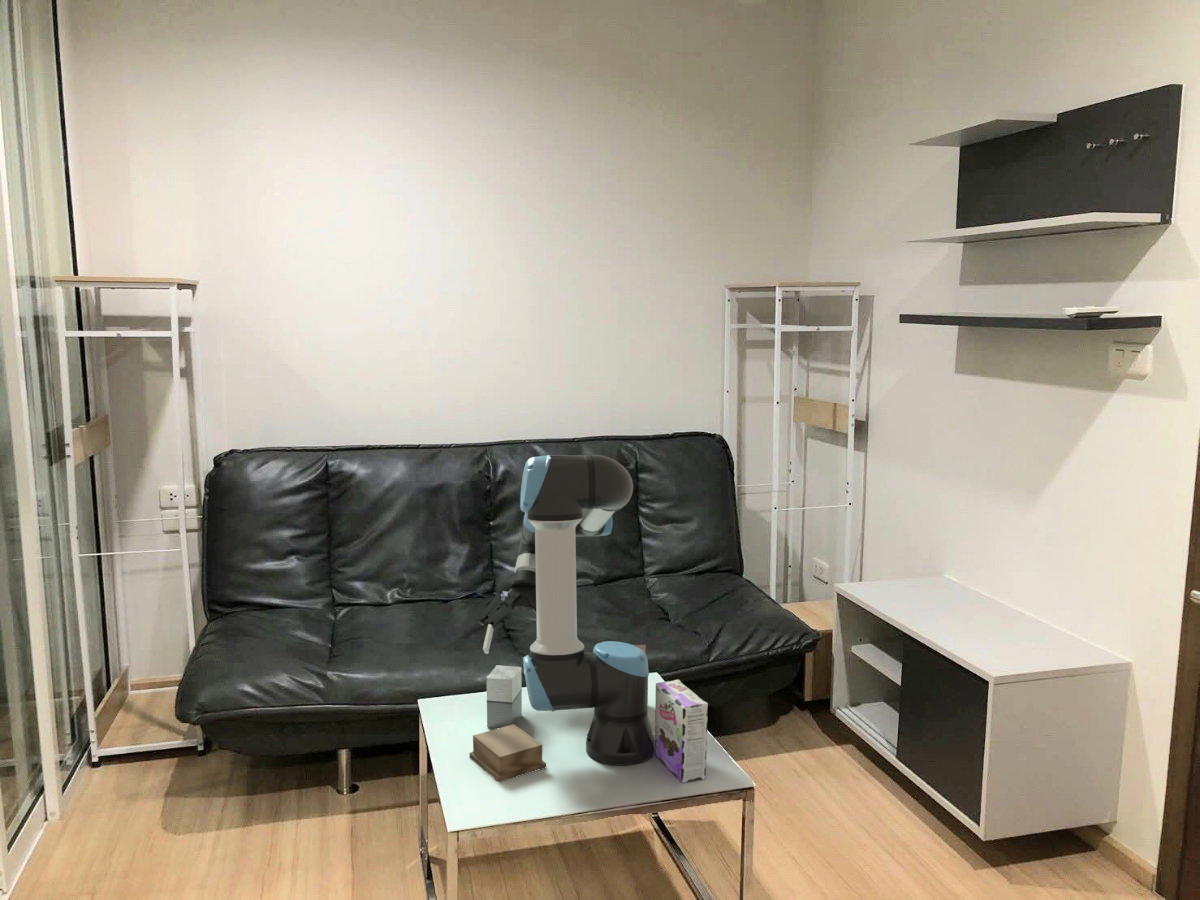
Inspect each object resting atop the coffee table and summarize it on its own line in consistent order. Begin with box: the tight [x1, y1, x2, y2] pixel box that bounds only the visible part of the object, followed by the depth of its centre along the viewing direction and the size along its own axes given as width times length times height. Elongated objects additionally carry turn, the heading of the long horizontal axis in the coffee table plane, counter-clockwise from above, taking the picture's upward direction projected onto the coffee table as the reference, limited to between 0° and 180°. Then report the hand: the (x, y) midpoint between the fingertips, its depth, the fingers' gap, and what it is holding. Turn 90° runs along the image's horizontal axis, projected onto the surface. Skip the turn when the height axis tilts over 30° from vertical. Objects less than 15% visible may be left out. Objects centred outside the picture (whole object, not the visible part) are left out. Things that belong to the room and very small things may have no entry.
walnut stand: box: [469, 724, 547, 783], centre depth 202 cm, size 11×13×5 cm
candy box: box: [654, 679, 709, 784], centre depth 200 cm, size 14×6×16 cm, turn 21°
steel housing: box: [486, 664, 523, 729], centre depth 222 cm, size 6×8×12 cm
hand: (512, 653), depth 229 cm, fingers open, 13 cm apart
